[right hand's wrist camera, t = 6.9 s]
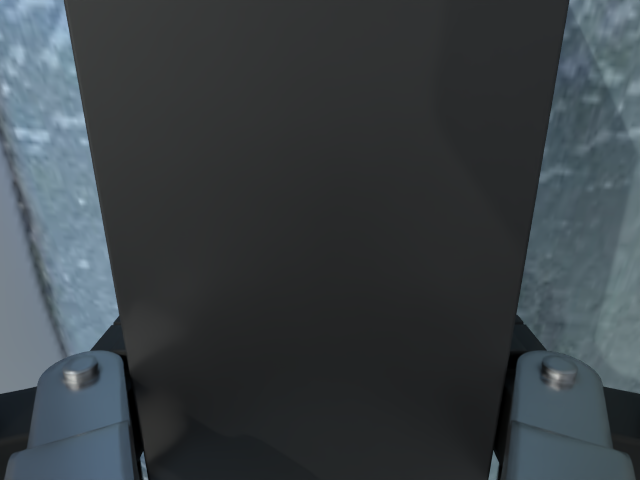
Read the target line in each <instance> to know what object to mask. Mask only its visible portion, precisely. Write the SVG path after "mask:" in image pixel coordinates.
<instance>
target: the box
mask: <svg viewBox="0 0 640 480" xmlns="http://www.w3.org/2000/svg"><path fill="white" fill-rule="evenodd" d="M64 4H65V10H66V15H67V21H68V27H69V32H70V38H71V44H72V49H73V55H74V61H75V66H76V72H77V78H78V83H79V89H80V95H81V100H82V106H83V112H84V117H85V123H86V129H87V134H88V140H89V146H90V151H91V157H92V163H93V168H94V174H95V180H96V185H97V191H98V196H99V202H100V208H101V213H102V219H103V225H104V230H105V236H106V242H107V247H108V253H109V259H110V264H111V270H112V276H113V281H114V287H115V293H116V298H117V304H118V310H119V315H120V321H121V327H122V332H123V338H124V344H125V349H126V355H127V361H128V366H129V372H130V378H131V383H132V389H133V395H134V400H135V406H136V412H137V417H138V423H139V429H140V434H141V440H142V446H143V451H144V457H145V463H146V468H147V474H148V480H488V478H489V472H490V466H491V460H492V455H493V449H494V443H495V437H496V431H497V425H498V419H499V413H500V407H501V401H502V395H503V390H504V384H505V378H506V372H507V366H508V360H509V354H510V348H511V342H512V336H513V330H514V324H515V319H516V313H517V307H518V301H519V295H520V289H521V283H522V277H523V271H524V265H525V259H526V253H527V248H528V242H529V236H530V230H531V224H532V218H533V212H534V206H535V200H536V194H537V188H538V182H539V177H540V171H541V165H542V159H543V153H544V147H545V141H546V135H547V129H548V123H549V117H550V111H551V106H552V100H553V94H554V88H555V82H556V76H557V70H558V64H559V58H560V52H561V46H562V40H563V35H564V29H565V23H566V17H567V11H568V5H569V0H64Z"/></svg>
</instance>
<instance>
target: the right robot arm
mask: <svg viewBox="0 0 640 480" xmlns="http://www.w3.org/2000/svg"><path fill="white" fill-rule="evenodd" d="M493 450H494V452H495V455H496V457H497V459H498V461H499V466H498V472H497V479H496V480H640V394H638V393H632V392H627V391H622V390H617V389H612V388H607V387H603V385H602V381H601V378H600V377H599V375H598V374H597V373H596V372H595V371H594V370H593V369H592V368H591V367H590V366H588V365H587V364H585V363H583V362H582V361H580V360H578V359H575V358H573V357H571V356H568V355H565V354H561V353H558V352H552V351H547V350H546V349H545V348H544V346H543V345H542V344H541V343H540V342H539V340H538V339H537V338H536V337H535V335H534V334H533V333H532V332H531V331H530V329H529V328H528V327H527V326H526V325H524V324H523V321H522V320H521V319H520V317H519V316H518V315H516V319H515V324H514V330H513V336H512V342H511V348H510V354H509V360H508V366H507V372H506V378H505V384H504V390H503V395H502V401H501V407H500V413H499V419H498V425H497V431H496V437H495V443H494V449H493ZM142 452H143V446H142V440H141V434H140V429H139V423H138V417H137V412H136V406H135V400H134V395H133V389H132V383H131V378H130V372H129V366H128V361H127V355H126V349H125V344H124V338H123V332H122V327H121V321H120V316H119V317H118V318H117V319H116V320H115V322H114V325H111V326H110V328H109V329H108V330H107V331H106V332H105V334H104V335H103V336H102V337H101V338H100V339H99V341H98V342H97V343H96V344H95V345H94V347H93V348H92V349H91V350H90V351H88V352H82V353H79V354H75V355H72V356H69V357H67V358H65V359H62V360H60V361H58V362H57V363H55V364H54V365H52V366H50V367H49V368H48V369H47V370H46V371H45V372H44V373H43V374H42V375H41V377H40V378H39V381H38V385H37V387H33V388H29V389H24V390H19V391H14V392H9V393H3V394H0V480H144V478H143V472H142V466H141V461H140V457H141V455H142Z"/></svg>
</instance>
